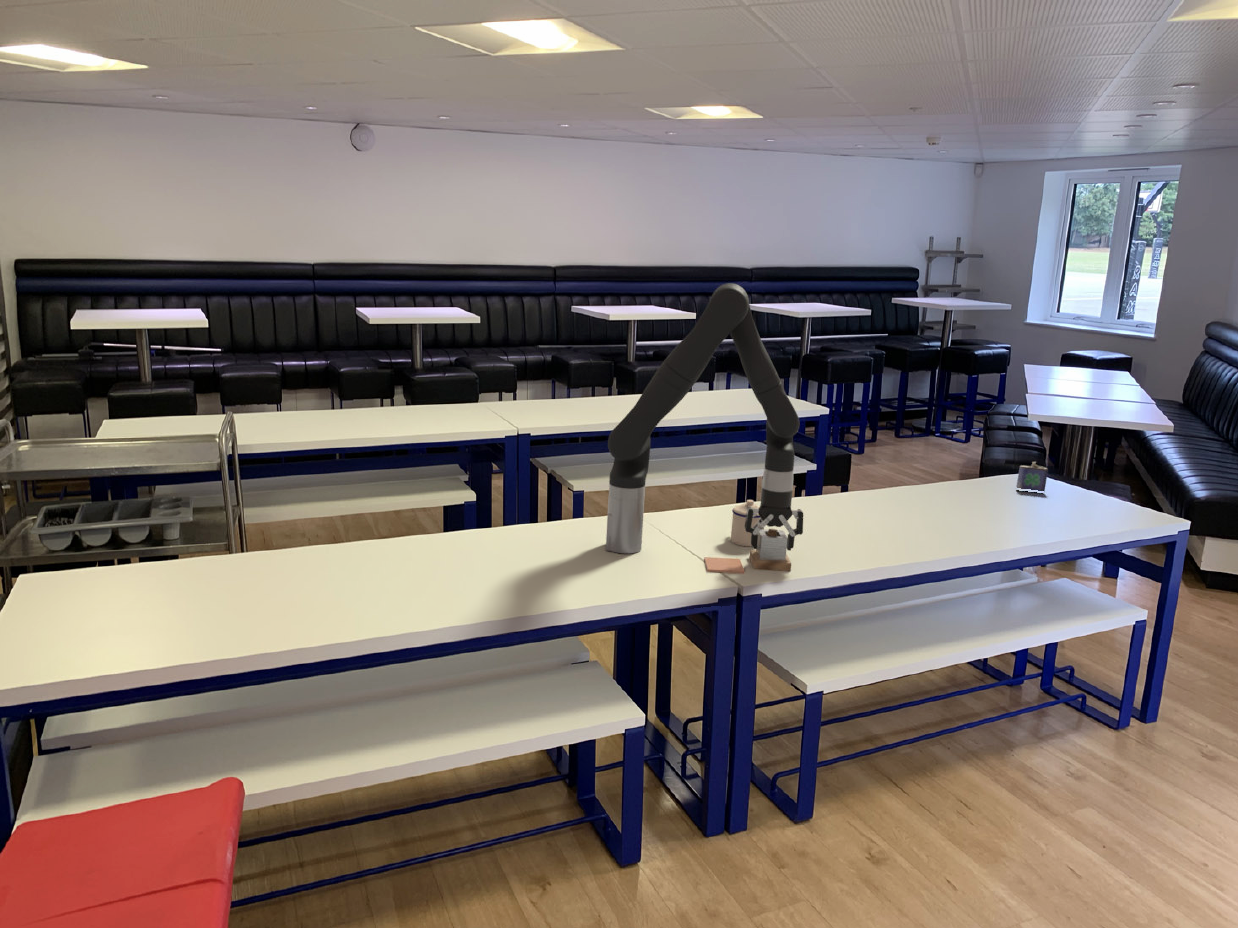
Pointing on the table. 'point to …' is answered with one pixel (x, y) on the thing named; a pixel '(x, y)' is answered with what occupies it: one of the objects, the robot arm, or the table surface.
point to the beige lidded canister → (742, 524)
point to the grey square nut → (771, 546)
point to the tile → (723, 565)
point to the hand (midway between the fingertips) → (771, 548)
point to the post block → (766, 563)
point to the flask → (1032, 477)
